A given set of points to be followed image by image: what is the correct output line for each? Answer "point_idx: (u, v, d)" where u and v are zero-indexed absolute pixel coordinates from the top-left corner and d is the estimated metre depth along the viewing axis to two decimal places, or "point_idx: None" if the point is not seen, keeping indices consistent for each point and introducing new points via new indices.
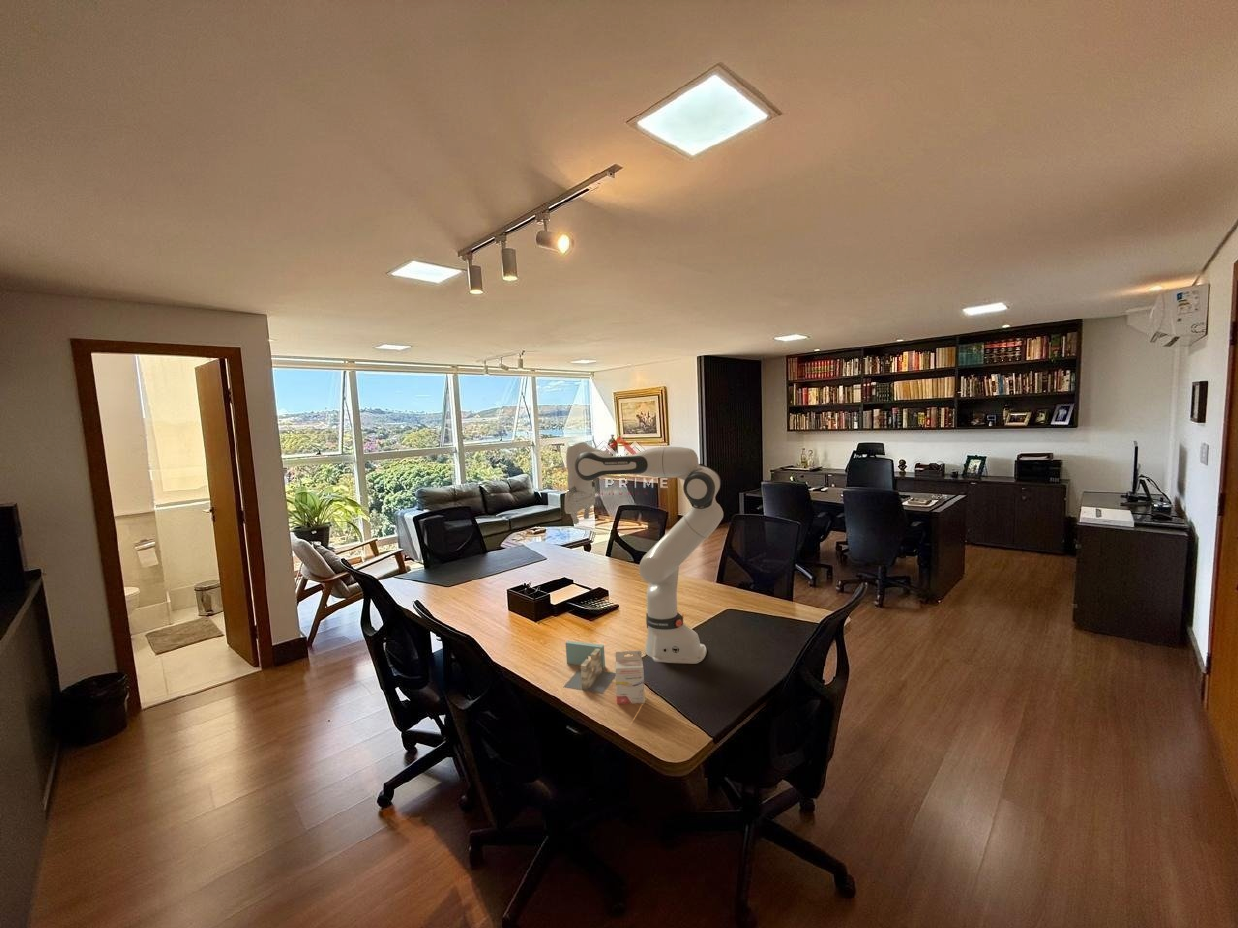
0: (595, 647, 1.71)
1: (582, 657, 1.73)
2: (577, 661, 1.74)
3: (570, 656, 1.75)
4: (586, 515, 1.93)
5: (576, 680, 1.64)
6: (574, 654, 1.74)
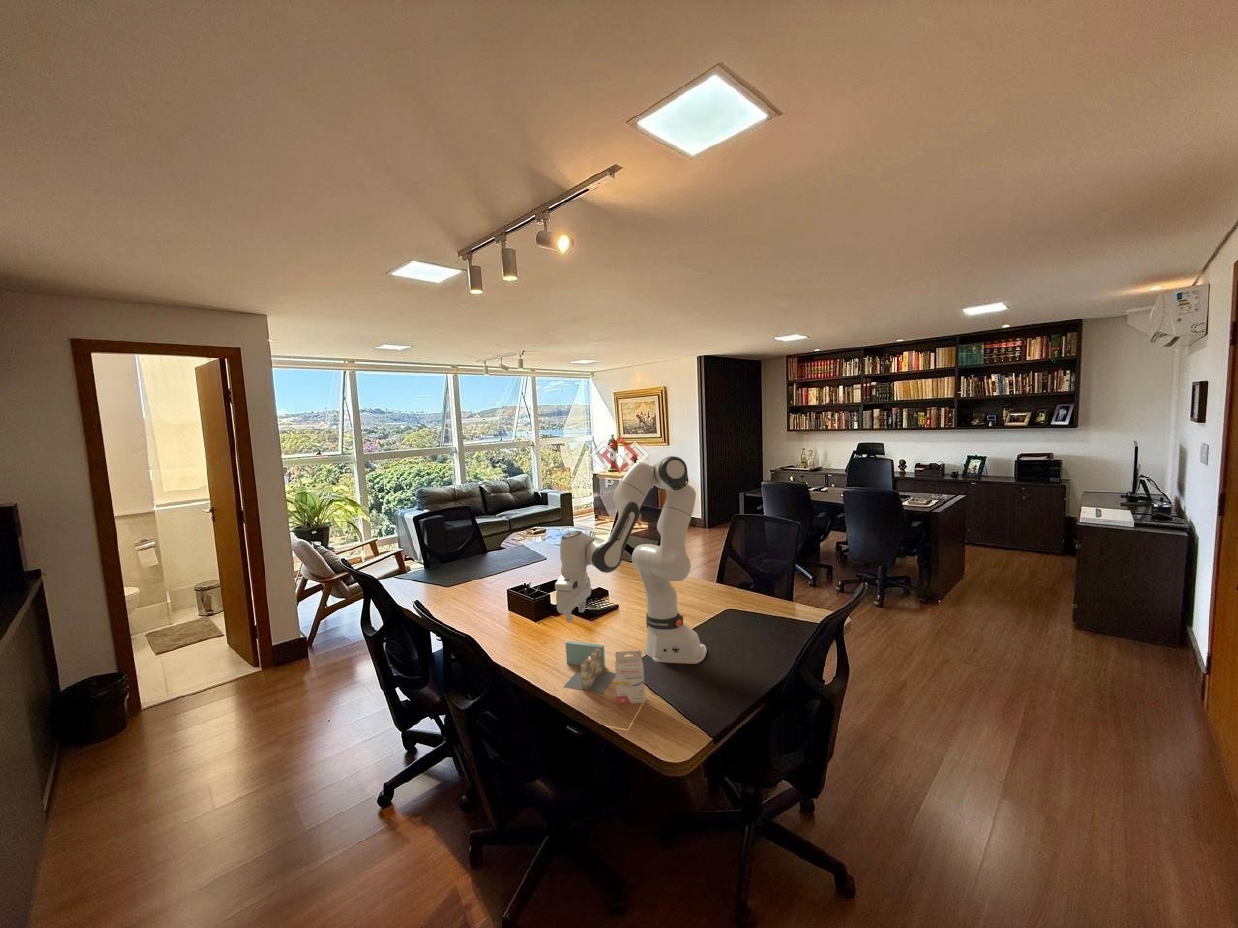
0: (595, 647, 1.71)
1: (582, 657, 1.73)
2: (577, 661, 1.74)
3: (570, 656, 1.75)
4: None
5: (576, 680, 1.64)
6: (574, 654, 1.74)
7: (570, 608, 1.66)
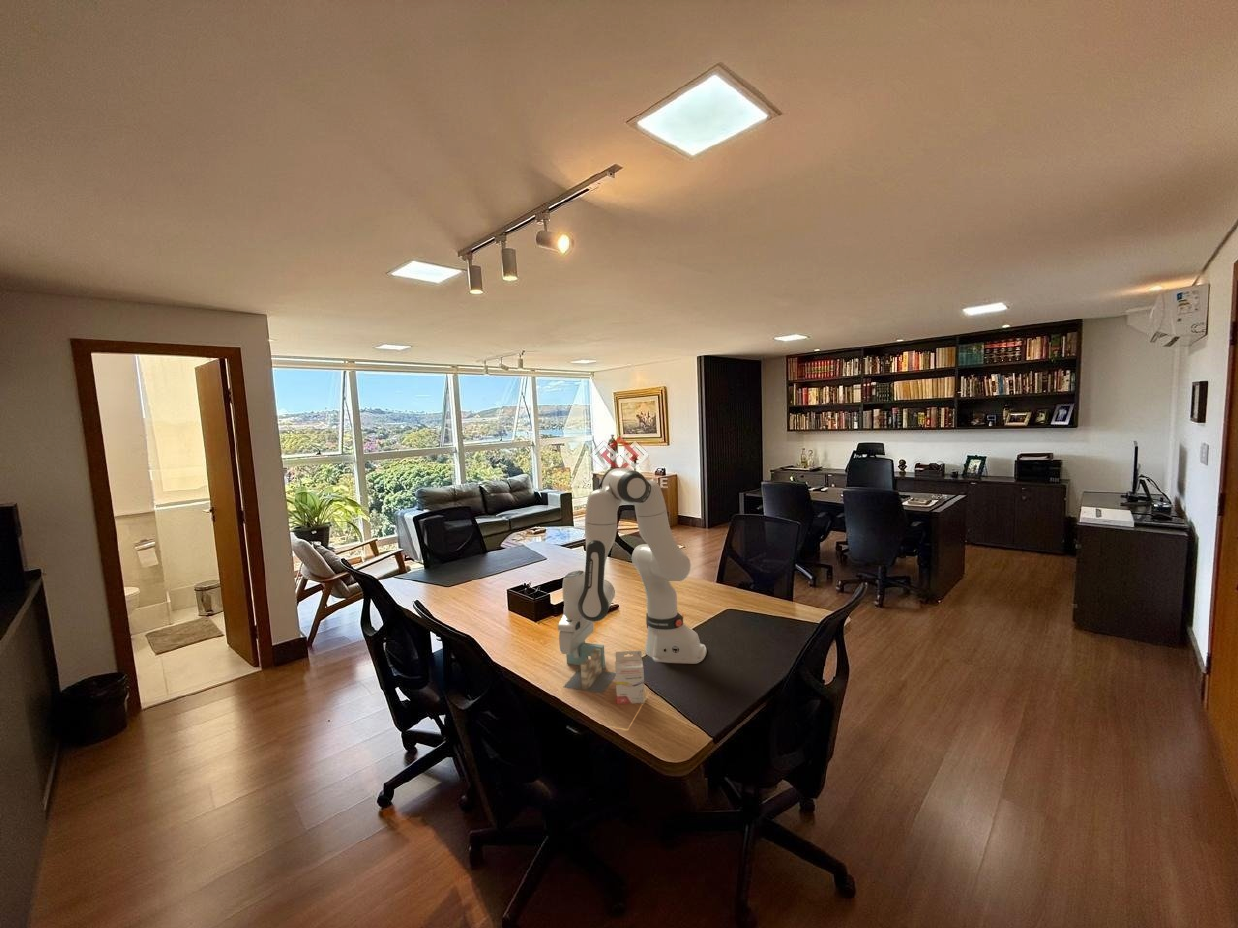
0: (595, 647, 1.71)
1: (582, 657, 1.73)
2: (577, 661, 1.74)
3: (570, 656, 1.75)
4: None
5: (576, 680, 1.64)
6: None
7: (573, 649, 1.67)
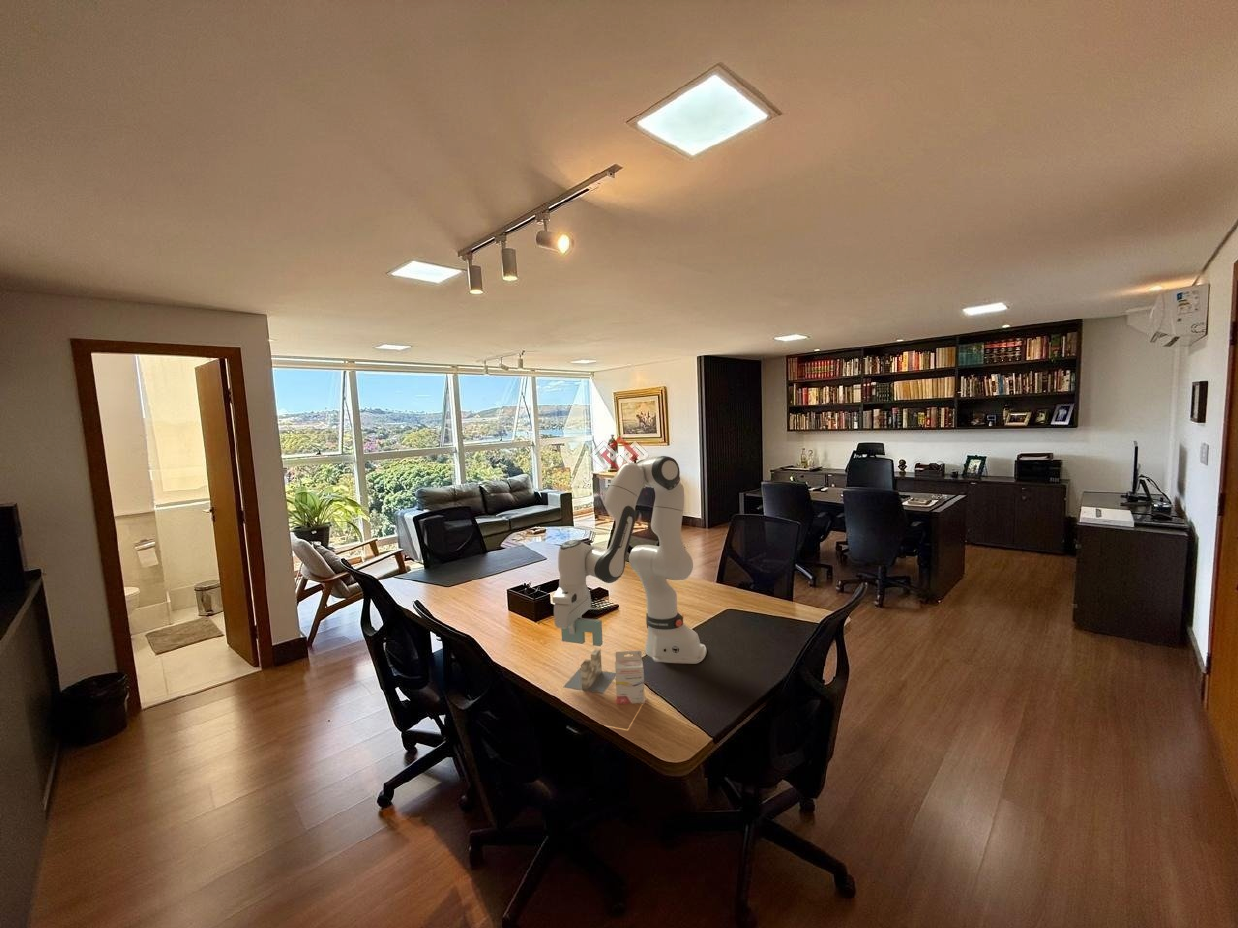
0: (592, 622, 1.60)
1: (578, 633, 1.62)
2: (573, 637, 1.63)
3: (565, 632, 1.64)
4: None
5: (576, 680, 1.64)
6: None
7: (569, 623, 1.56)
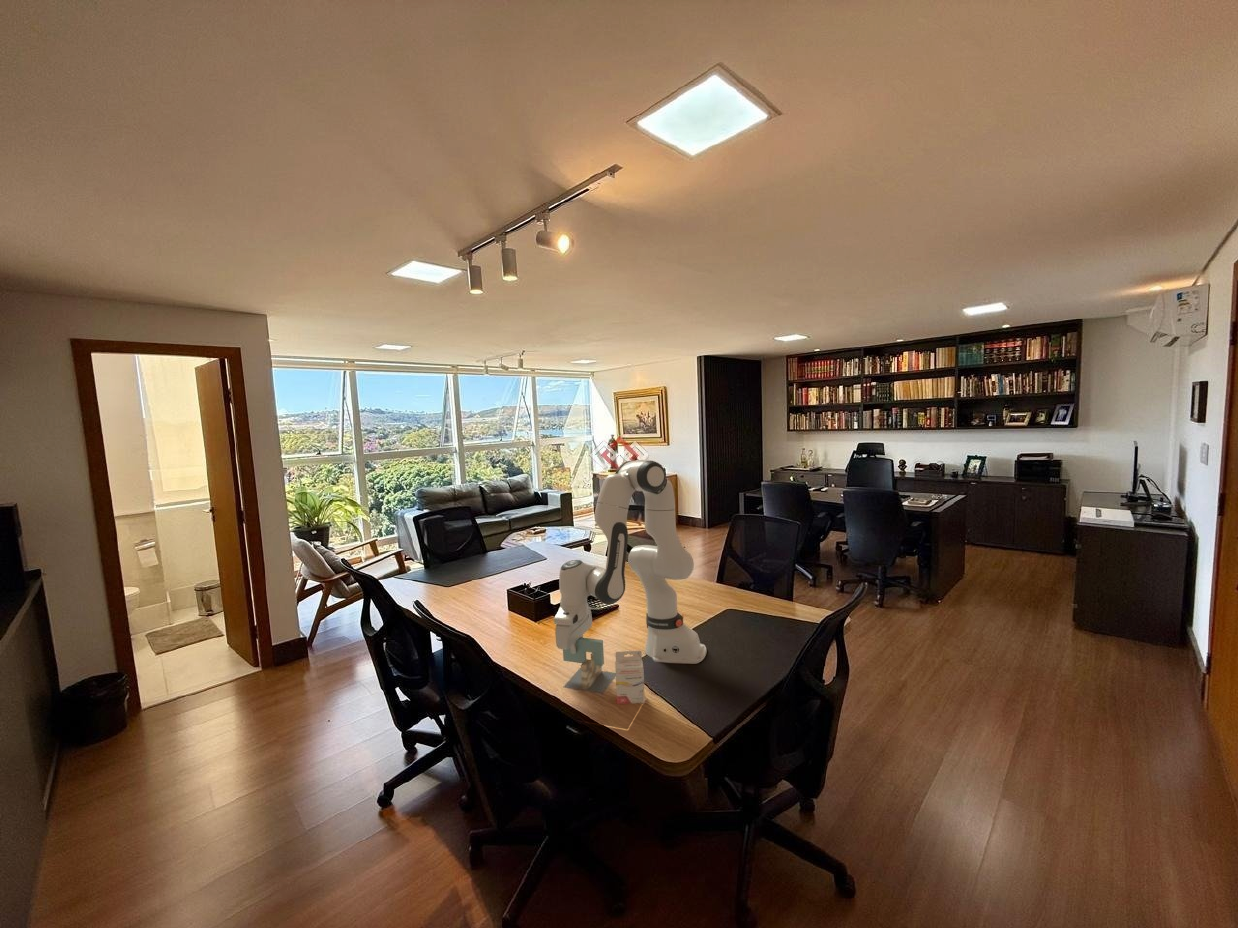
0: (593, 642, 1.61)
1: (580, 653, 1.63)
2: (574, 657, 1.64)
3: (567, 652, 1.65)
4: None
5: (576, 680, 1.64)
6: None
7: (570, 643, 1.56)
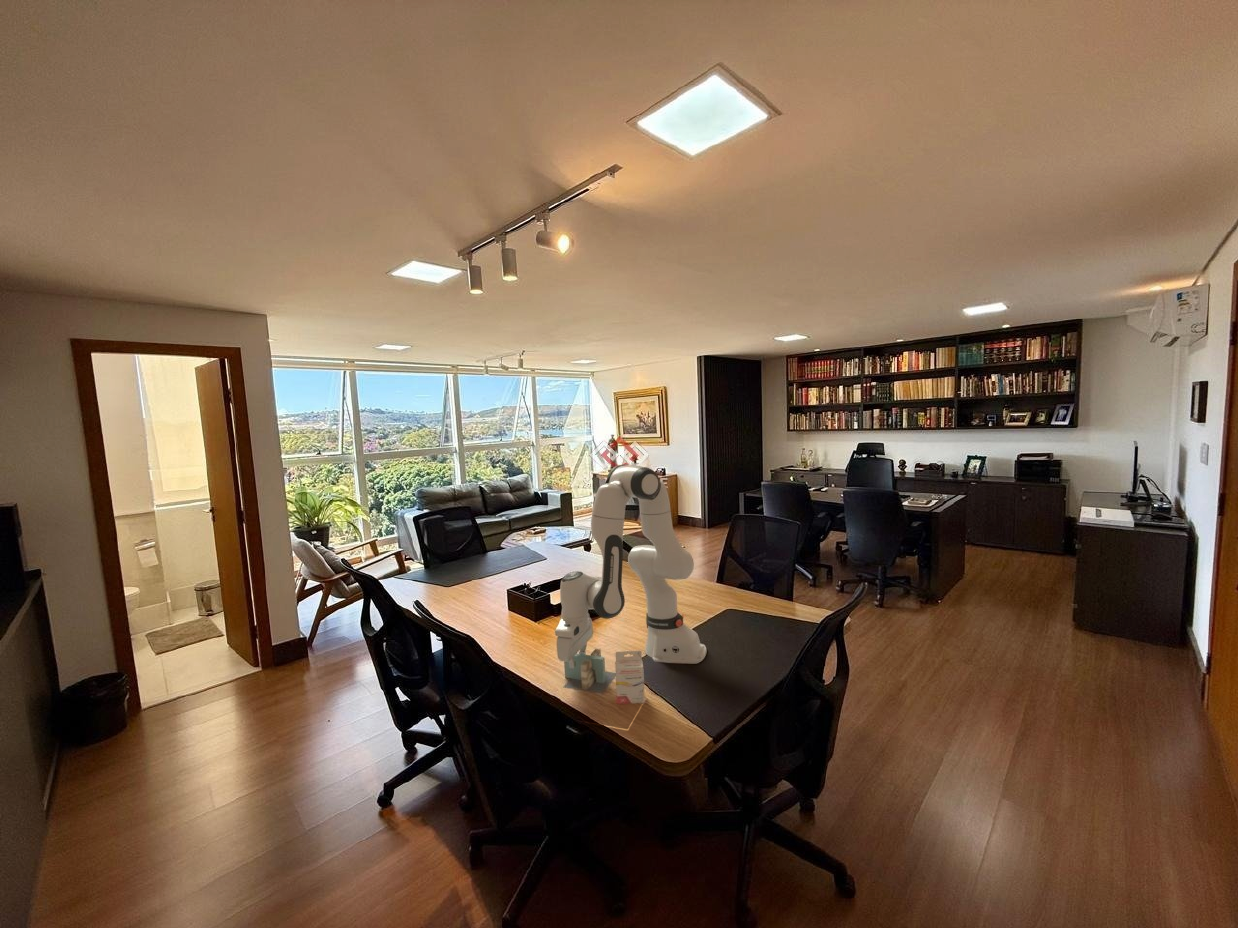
0: (595, 659, 1.61)
1: None
2: (576, 674, 1.64)
3: (568, 669, 1.65)
4: None
5: (576, 680, 1.64)
6: None
7: (571, 655, 1.57)
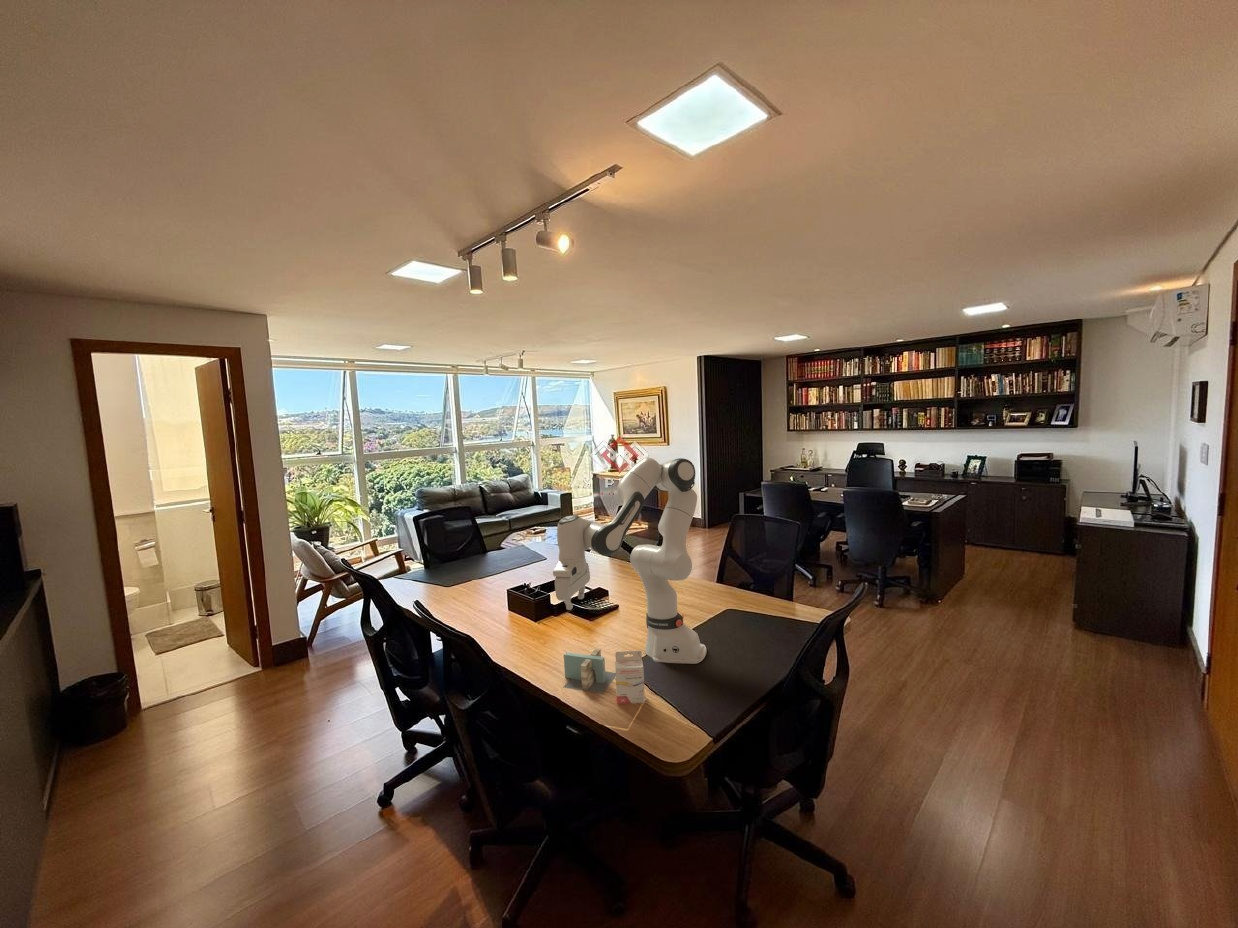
0: (595, 659, 1.61)
1: None
2: (576, 674, 1.64)
3: (568, 669, 1.65)
4: None
5: (576, 680, 1.64)
6: (573, 666, 1.65)
7: (570, 595, 1.60)
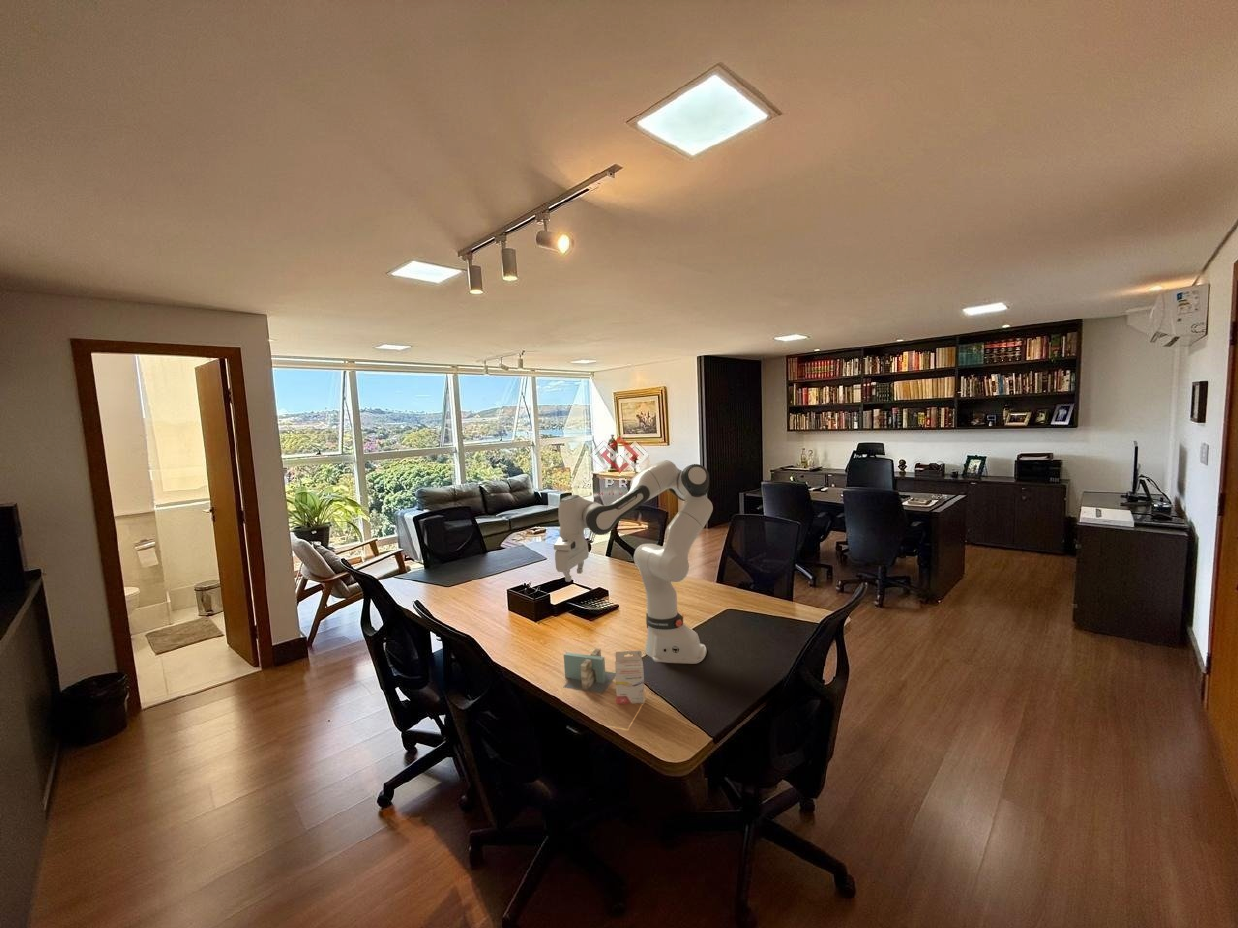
0: (595, 659, 1.61)
1: None
2: (576, 674, 1.64)
3: (568, 669, 1.65)
4: None
5: (576, 680, 1.64)
6: (573, 666, 1.65)
7: (568, 567, 1.74)
